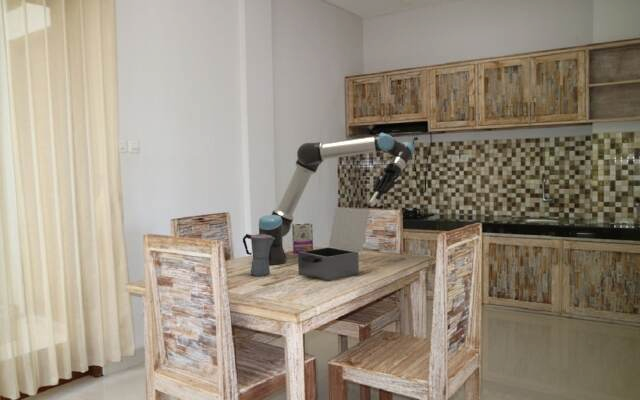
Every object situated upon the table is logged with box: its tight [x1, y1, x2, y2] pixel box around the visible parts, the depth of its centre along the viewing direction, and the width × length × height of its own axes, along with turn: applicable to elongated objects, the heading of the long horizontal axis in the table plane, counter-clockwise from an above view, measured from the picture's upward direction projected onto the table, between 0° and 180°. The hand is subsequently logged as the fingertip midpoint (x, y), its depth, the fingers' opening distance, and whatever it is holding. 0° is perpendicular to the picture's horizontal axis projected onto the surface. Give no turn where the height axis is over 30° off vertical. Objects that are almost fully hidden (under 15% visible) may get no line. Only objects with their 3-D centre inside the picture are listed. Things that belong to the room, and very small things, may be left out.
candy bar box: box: [291, 222, 314, 254], centre depth 278 cm, size 11×5×16 cm, turn 102°
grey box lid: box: [328, 206, 370, 253], centre depth 225 cm, size 21×19×1 cm
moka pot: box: [242, 230, 275, 277], centre depth 220 cm, size 10×15×20 cm, turn 78°
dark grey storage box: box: [297, 246, 360, 282], centre depth 217 cm, size 20×20×10 cm
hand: (371, 203), depth 234 cm, fingers closed
